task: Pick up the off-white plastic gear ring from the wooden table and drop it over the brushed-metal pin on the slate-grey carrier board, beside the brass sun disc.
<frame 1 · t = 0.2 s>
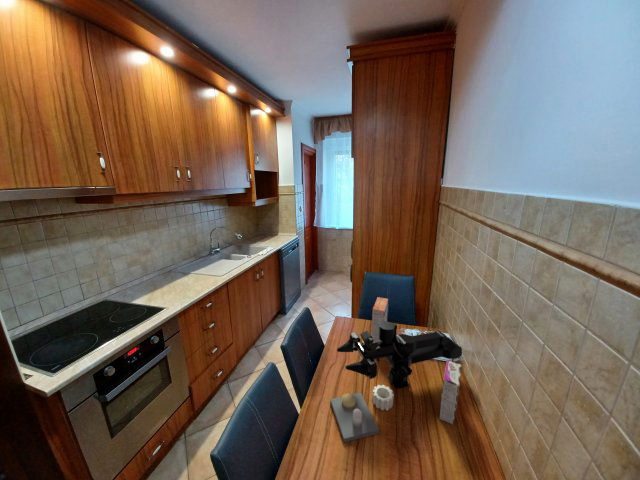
hand: (341, 358, 92), 16 cm above the table, tool horizontal, fingers open, 9 cm apart
planet gear: (382, 401, 93), on the table
candy bar box: (447, 410, 89), on the table
cracker box: (378, 340, 128), on the table
carrier board: (353, 416, 87), on the table
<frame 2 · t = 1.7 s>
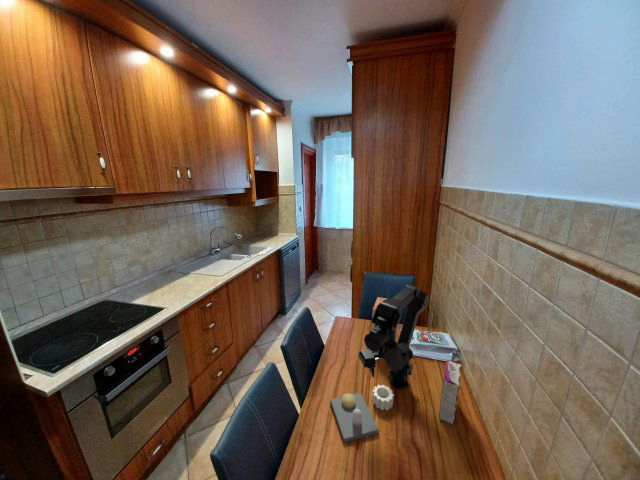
hand: (384, 374, 90), 12 cm above the table, tool pointing down, fingers open, 9 cm apart
nothing on the table moved.
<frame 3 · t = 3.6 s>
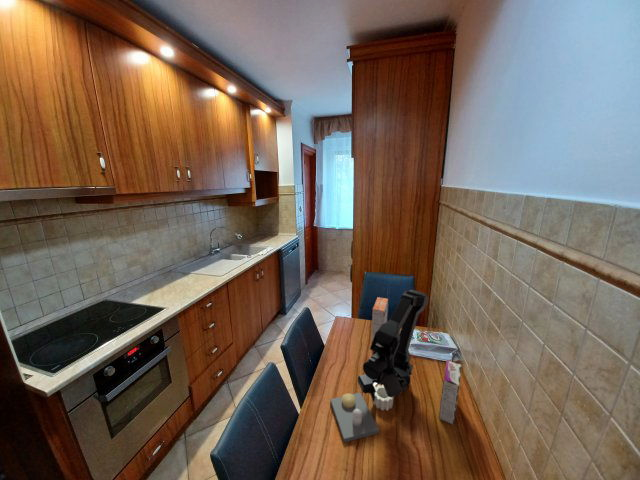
hand: (382, 398, 92), 2 cm above the table, tool pointing down, fingers closed on planet gear, 7 cm apart
planet gear: (382, 401, 93), on the table, touching gripper
everything else where it was.
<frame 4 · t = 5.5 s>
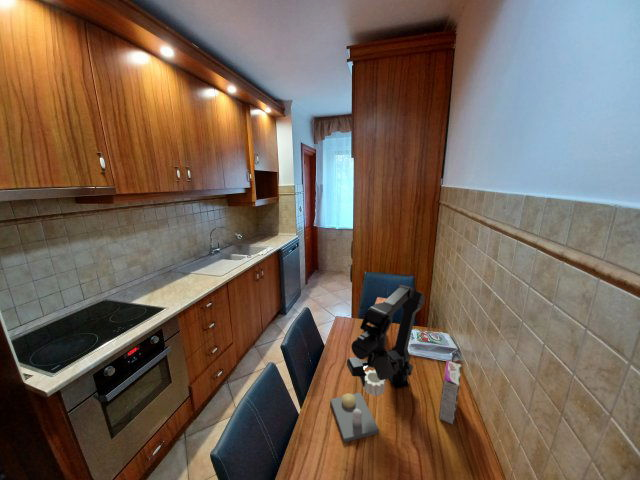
hand: (373, 383, 86), 12 cm above the table, tool pointing down, fingers closed on planet gear, 7 cm apart
planet gear: (373, 387, 86), point 11 cm above the table, touching gripper
everything else where it was.
when the fingers open (5 cm above the table, at t = 7.8 s): planet gear drops 2 cm, resting on carrier board.
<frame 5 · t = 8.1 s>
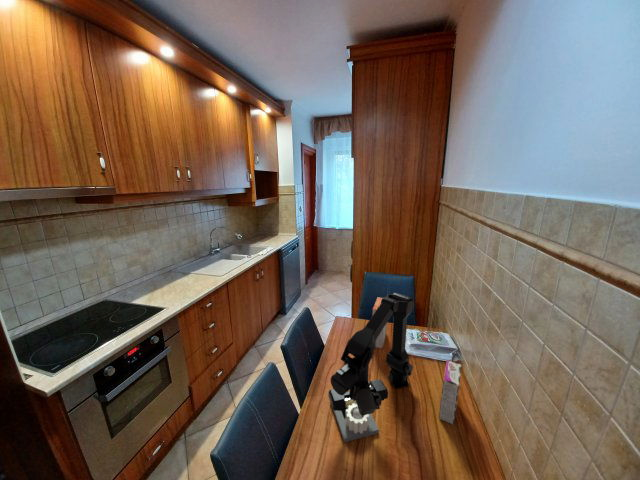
hand: (357, 414, 82), 5 cm above the table, tool pointing down, fingers open, 9 cm apart
planet gear: (357, 422, 83), point 1 cm above the table, touching carrier board
everything else where it was.
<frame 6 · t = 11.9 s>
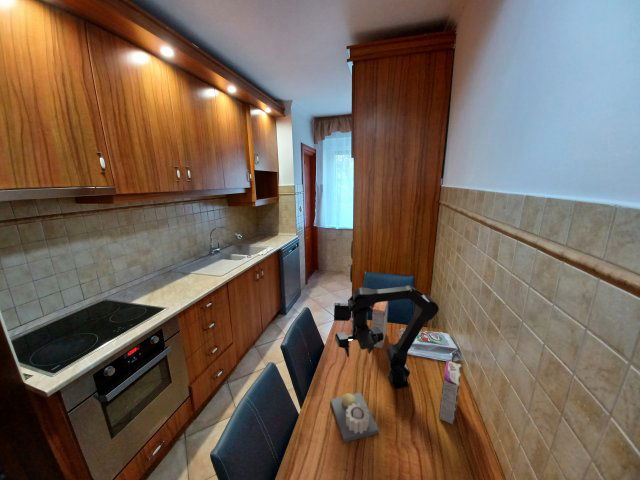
hand: (358, 354, 100), 12 cm above the table, tool pointing down, fingers open, 9 cm apart
nothing on the table moved.
at the end: planet gear 0.0 cm from the target spot on the carrier board, point 1.5 cm above the carrier board's base; planet gear tilted 0°; the gripper is holding nothing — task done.
